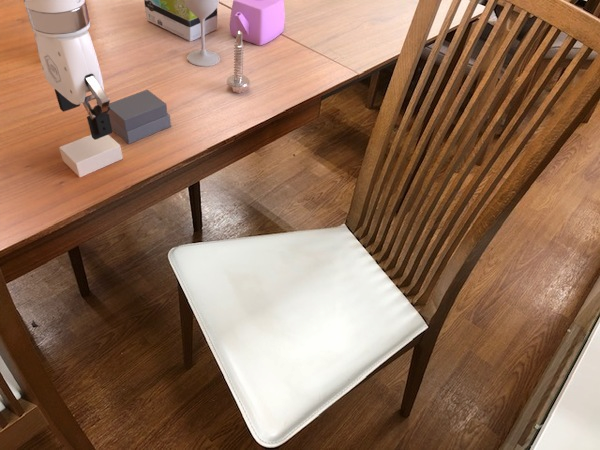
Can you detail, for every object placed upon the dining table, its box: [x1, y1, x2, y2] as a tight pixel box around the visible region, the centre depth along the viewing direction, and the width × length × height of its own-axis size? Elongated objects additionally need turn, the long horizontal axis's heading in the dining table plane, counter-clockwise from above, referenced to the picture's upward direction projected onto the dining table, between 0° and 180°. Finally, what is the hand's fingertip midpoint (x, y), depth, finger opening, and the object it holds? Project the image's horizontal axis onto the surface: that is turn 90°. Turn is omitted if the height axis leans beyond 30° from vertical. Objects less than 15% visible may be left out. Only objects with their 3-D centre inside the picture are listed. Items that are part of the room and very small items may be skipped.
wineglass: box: [184, 0, 221, 68], centre depth 107 cm, size 8×8×21 cm
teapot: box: [229, 0, 286, 46], centre depth 122 cm, size 18×10×10 cm, turn 150°
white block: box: [58, 134, 123, 178], centre depth 86 cm, size 8×6×3 cm
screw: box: [226, 30, 251, 94], centre depth 102 cm, size 13×5×5 cm
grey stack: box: [109, 89, 172, 145], centre depth 93 cm, size 9×6×5 cm
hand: (86, 121), depth 81 cm, fingers open, 9 cm apart
